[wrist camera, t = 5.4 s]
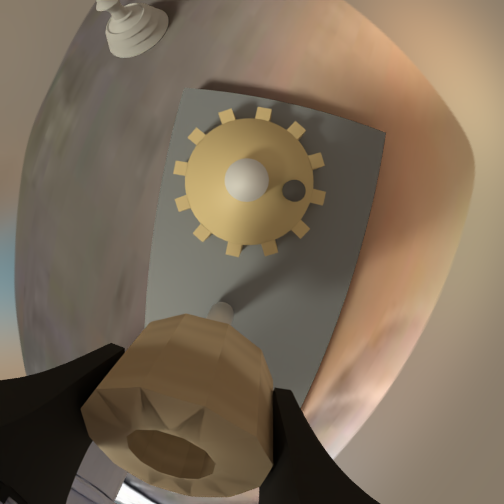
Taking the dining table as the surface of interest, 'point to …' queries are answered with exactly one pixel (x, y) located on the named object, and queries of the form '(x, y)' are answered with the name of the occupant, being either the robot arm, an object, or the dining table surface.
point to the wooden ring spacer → (187, 409)
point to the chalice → (132, 27)
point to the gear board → (300, 264)
